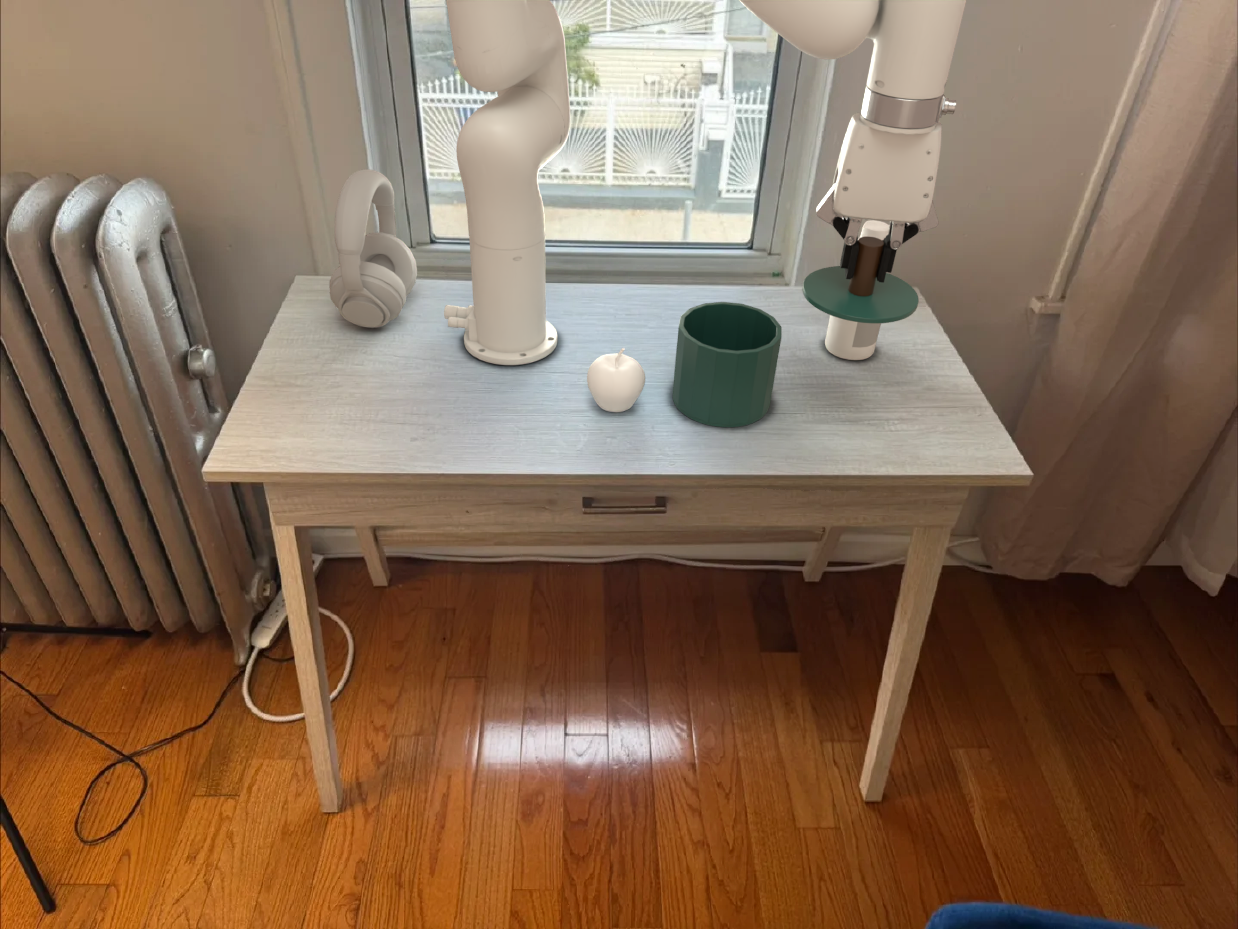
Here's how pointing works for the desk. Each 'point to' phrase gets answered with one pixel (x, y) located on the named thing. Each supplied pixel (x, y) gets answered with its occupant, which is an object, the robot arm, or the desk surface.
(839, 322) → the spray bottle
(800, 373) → the desk surface
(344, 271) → the headphones
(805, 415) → the desk surface
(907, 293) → the lid
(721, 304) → the pot
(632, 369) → the plain white apple
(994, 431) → the desk surface
